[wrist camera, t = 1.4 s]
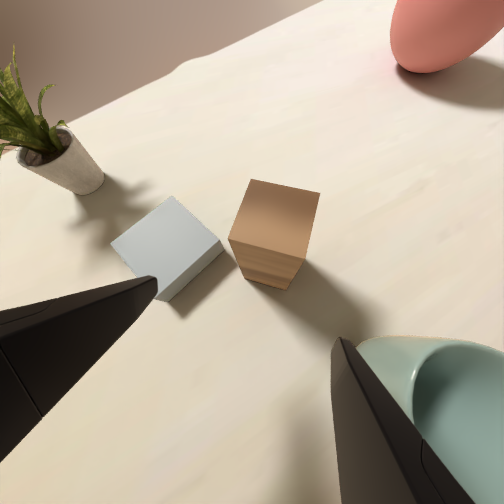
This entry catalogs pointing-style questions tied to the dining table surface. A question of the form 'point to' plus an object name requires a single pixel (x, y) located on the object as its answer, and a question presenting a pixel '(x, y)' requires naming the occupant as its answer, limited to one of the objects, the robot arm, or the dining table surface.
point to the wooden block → (273, 232)
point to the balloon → (442, 31)
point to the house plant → (44, 141)
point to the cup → (449, 403)
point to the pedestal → (168, 247)
